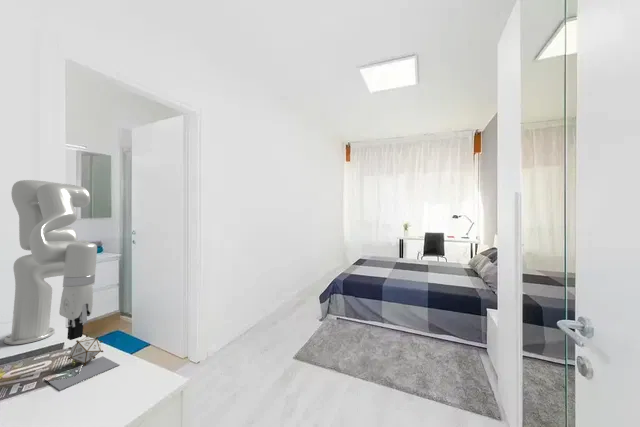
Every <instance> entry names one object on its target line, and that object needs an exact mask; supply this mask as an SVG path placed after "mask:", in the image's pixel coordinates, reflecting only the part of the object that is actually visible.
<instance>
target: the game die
mask: <svg viewBox="0 0 640 427" xmlns="http://www.w3.org/2000/svg"><path fill="white" fill-rule="evenodd" d="M75 340H76V339H75ZM75 342H76V343H75V344H74V345H73V346H72V347H71V346H70V347H68V349H67V350H70V357H68V358H67V360H72V361H73V362H75V363H76V362H77V363H82V364H84V366H86V363H87V362H89V361H92V360H93V359H94V358H95V359H96V356H97V355H98V354H99V353H103V352H104V350H103V349H102V348H101V344H102V343H103V340H99V336H96V337H90V336H89V334H86V335H85V337H84V338H83V339H80V340H76V341H75Z"/></svg>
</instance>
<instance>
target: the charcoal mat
mask: <svg viewBox="0 0 640 427" xmlns="http://www.w3.org/2000/svg"><path fill="white" fill-rule="evenodd" d="M82 364H83V366H82V368H81V371H80V374H77V375H76V376H75V377H74V376H73V377H72V378H67V379H61V380H60V379H59V380H54V381H50V382H49V383H50V384H49V383H48V384H49V385H50V386H52V387H53V388H55V389H56V390H58V391H59V392H61V391H63V390H66V389H68V388H70V387H73V386H75V385H77V384H80V383H82V382H84V381H87V380H88V378H89V379H91V378H94V377H96V376H98V374H99V375H101V374H103V373H105V371H106V372H108V371H110V370H112V368H113V369H114V367H115V368H118V367H119V366H120V364H119V363H117V362H115V361H113V360H111V359H109V358H107V357H106V356H100V357H97V358H95V359H94V358H93V359H91V360H89V361H88V362H87V363H86V366H84V363H82ZM107 370H108V371H107ZM100 373H101V374H100ZM95 375H96V376H95ZM93 376H94V377H93ZM90 377H91V378H90ZM86 379H87V380H86ZM83 380H84V381H83ZM81 381H82V382H81ZM79 382H80V383H79ZM76 383H77V384H76ZM74 384H75V385H74ZM72 385H73V386H72Z"/></svg>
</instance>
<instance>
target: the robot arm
mask: <svg viewBox="0 0 640 427" xmlns="http://www.w3.org/2000/svg"><path fill="white" fill-rule="evenodd" d="M11 200H12V203H13V205H14V207H15V209H16V211H17V214H18V219H19V220H18V225H19V226H18V230H19V232H18V233H19V234H18V235H19V236H18V237H19V240H18V241H19V246H20V248H22V249H23V250H25V251H30V252H31V253H30V254H26V255H22V256H20V257H18V258H16V259H15V261H14V263H13V267H12V268H13V274H14V283H15V285H14V288H15V290H14V300H13V301H14V302H13V310H12V311H13V314H12V325H11V334H9V335H8V336H6V337H4V341H3V342H4V344H5V345H10V346H11V345H22V344H29V343H33V342H37V341H41V340H44V339H46V338H49V337H51V336H52V335H54V334H55V328H53V327H50V323H51V322H50V321H51V311H52V300H53V299H52V298H53V287H52V285H50V284H49V282H47V281H45V279H47V278H53V277H62V278H63V279H62V281H63V282H62V288H63V289H62V292H61V297H60V298H61V299H60V304H59V315H60V316H61V317H64V318H66V319H67V337H66V338H67V340H70V341H73V340H76V339H79V338H82V337H83V335H84V331H83V330H84V324H85V322H88V317H90V316H91V315H92V312H93V305H94V303H93V302H94V300H93V299H94V296H93V295H94V292H93V289H94V288H93V285H95V282H96V281H95V280H96V270H97V268H96V267H97V254H98V245H97V244H96V243H93V242H89V241H86V240H78V235H77V234H78V233H77V232H76V230H75V229H74V228H73V227H70V226H71V225H72V224H74V223H75V222H76V221H77V218H78V216H77V213H76V210H75V208H86V207H87V206H89V205H90V202H91V194H90V192H89V191H88V189H87V188H85V187H84V186H81V185H80V186H79V185H75V184H71V183H70V184H68V183H62V182H61V183H60V182H53V181H44V180H35V179H22V180H17V181H15V183H13V185H12V187H11Z"/></svg>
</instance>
